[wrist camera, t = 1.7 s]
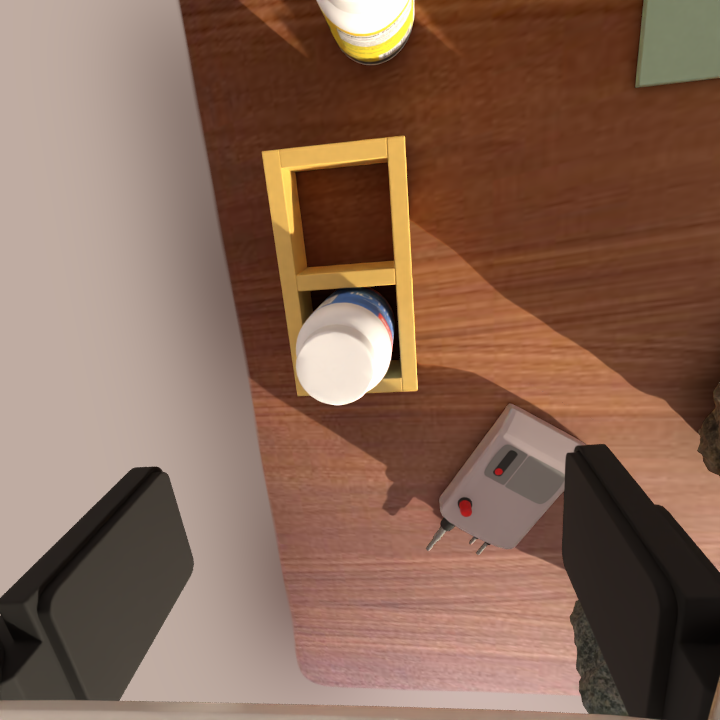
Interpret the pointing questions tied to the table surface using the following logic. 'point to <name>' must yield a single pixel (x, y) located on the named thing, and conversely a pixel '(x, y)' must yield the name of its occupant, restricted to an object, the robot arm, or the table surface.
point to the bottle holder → (304, 279)
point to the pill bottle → (345, 345)
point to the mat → (678, 42)
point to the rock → (594, 670)
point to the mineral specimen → (711, 437)
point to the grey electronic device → (507, 480)
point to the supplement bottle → (369, 27)
